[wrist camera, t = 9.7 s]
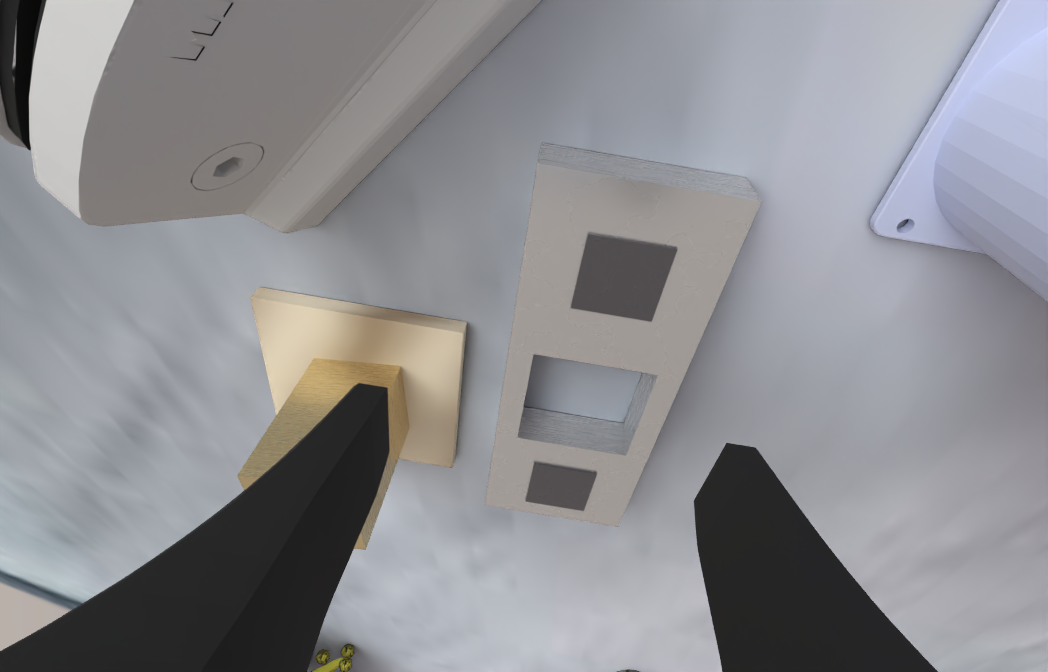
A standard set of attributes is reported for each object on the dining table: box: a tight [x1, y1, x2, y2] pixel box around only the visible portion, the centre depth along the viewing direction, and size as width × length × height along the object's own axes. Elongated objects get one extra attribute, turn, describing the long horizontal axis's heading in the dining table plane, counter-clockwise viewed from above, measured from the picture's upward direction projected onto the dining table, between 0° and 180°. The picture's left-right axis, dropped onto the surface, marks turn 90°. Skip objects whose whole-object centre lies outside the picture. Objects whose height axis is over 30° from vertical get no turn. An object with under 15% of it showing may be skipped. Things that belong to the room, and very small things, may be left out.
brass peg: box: [237, 358, 410, 550], centre depth 22 cm, size 4×4×6 cm
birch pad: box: [250, 287, 467, 468], centre depth 25 cm, size 9×9×1 cm
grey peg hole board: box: [485, 143, 762, 527], centre depth 22 cm, size 7×18×2 cm, turn 172°
